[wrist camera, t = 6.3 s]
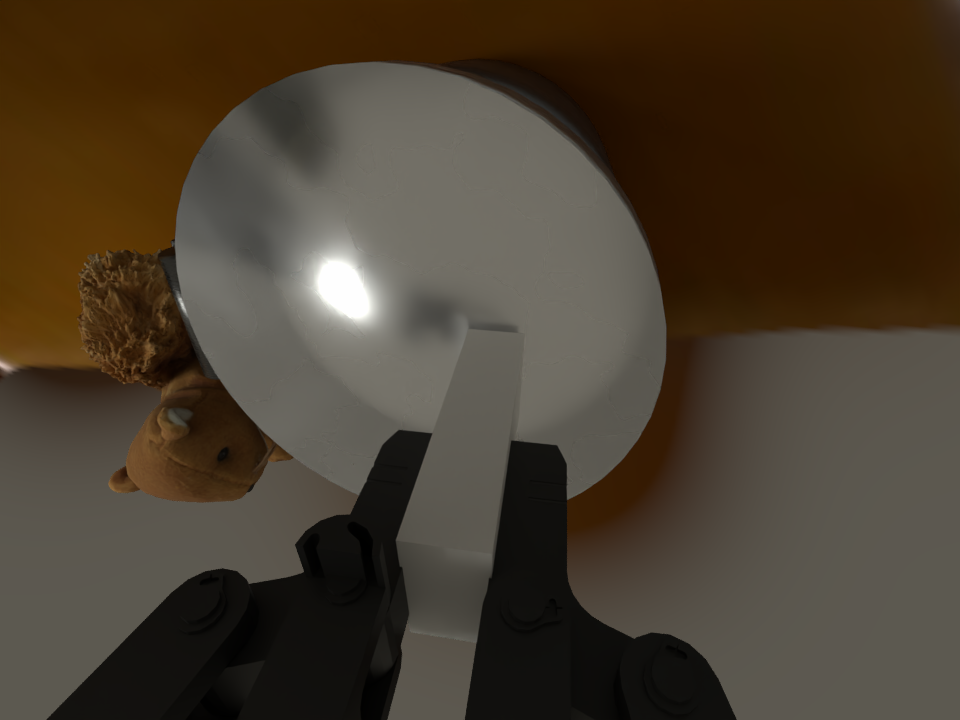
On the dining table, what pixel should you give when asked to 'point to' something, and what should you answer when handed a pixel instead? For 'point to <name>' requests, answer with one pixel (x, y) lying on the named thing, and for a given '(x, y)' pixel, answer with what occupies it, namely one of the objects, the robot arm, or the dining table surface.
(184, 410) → the stuffed squirrel
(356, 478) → the lid
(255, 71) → the dining table surface
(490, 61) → the cooker pot
